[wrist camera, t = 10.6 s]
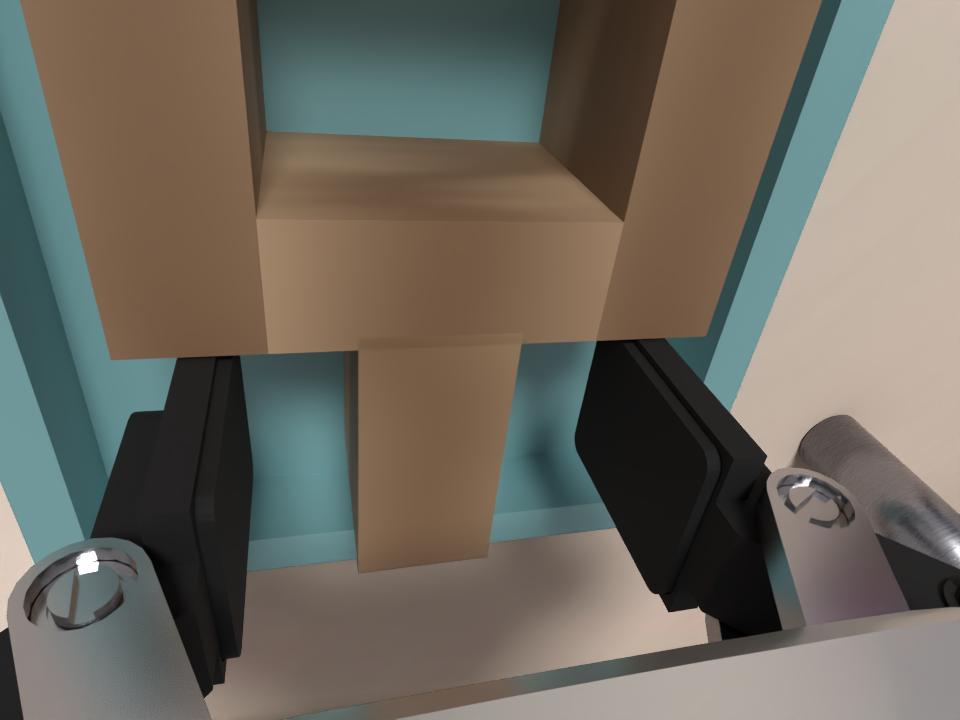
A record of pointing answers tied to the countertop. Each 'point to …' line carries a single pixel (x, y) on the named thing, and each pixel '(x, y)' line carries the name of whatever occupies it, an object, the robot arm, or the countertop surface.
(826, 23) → the tray
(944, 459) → the countertop surface
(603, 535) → the countertop surface
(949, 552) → the grey metallic cylinder
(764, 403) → the countertop surface
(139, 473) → the robot arm
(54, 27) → the wooden frame with stub
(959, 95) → the countertop surface
